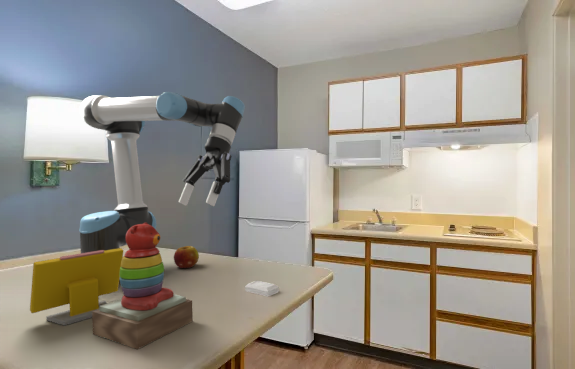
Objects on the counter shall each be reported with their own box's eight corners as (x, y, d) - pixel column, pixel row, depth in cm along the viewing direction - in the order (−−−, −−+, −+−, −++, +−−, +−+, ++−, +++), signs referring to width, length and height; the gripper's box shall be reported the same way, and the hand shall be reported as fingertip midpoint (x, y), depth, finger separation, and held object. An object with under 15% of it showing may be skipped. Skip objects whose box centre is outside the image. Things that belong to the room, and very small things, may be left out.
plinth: (92, 334, 75) (92, 307, 75) (150, 310, 88) (149, 287, 88) (137, 349, 67) (136, 319, 67) (192, 321, 80) (192, 296, 80)
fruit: (168, 269, 130) (168, 248, 130) (182, 263, 139) (182, 244, 139) (190, 270, 127) (190, 249, 127) (203, 264, 136) (203, 245, 136)
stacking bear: (149, 311, 71) (147, 227, 71) (108, 309, 73) (105, 226, 73) (177, 294, 82) (175, 220, 81) (139, 292, 84) (137, 220, 84)
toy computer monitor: (116, 300, 96) (114, 245, 96) (129, 306, 91) (127, 248, 91) (30, 324, 81) (28, 258, 81) (40, 333, 76) (38, 263, 76)
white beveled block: (268, 297, 97) (267, 288, 97) (245, 292, 102) (244, 283, 102) (278, 293, 101) (278, 284, 101) (256, 288, 106) (255, 279, 106)
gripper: (255, 143, 100) (232, 210, 93) (204, 151, 116) (181, 208, 109) (238, 129, 95) (212, 198, 88) (187, 139, 111) (162, 198, 104)
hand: (195, 204), depth 98 cm, fingers open, 13 cm apart
